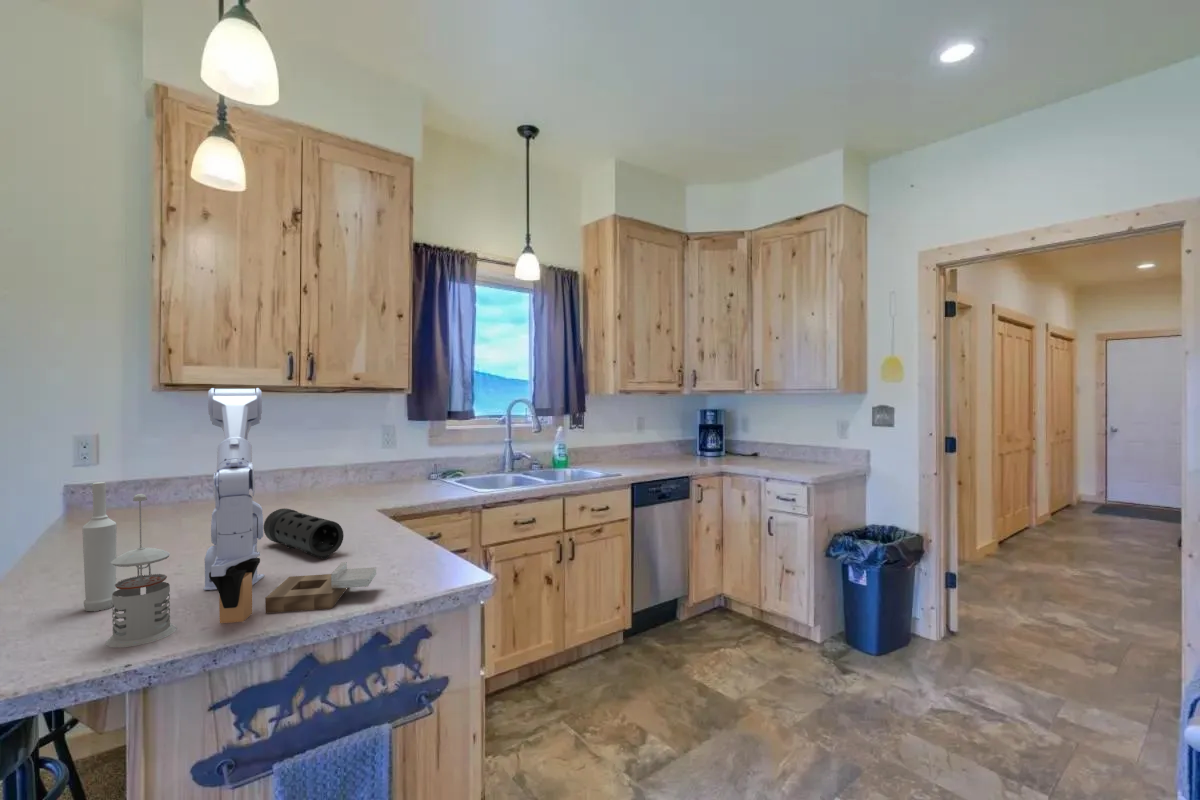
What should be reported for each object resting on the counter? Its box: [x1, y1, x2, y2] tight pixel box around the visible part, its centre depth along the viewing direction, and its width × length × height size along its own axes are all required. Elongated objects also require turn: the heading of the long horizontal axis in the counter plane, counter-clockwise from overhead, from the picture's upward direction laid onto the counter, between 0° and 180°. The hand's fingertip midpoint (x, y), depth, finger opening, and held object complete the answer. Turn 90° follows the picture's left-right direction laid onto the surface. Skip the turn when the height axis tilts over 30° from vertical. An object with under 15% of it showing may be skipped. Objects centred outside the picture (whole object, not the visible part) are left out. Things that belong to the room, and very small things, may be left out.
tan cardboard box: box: [218, 572, 253, 624], centre depth 106 cm, size 4×4×8 cm
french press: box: [105, 493, 178, 648], centre depth 100 cm, size 10×12×25 cm
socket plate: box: [264, 573, 347, 614], centre depth 116 cm, size 12×13×3 cm
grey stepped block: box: [330, 561, 377, 589], centre depth 118 cm, size 7×8×3 cm
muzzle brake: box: [263, 507, 345, 560], centre depth 153 cm, size 10×28×10 cm, turn 53°
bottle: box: [81, 481, 118, 612], centre depth 113 cm, size 5×5×25 cm
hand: (236, 602), depth 106 cm, fingers closed on tan cardboard box, 4 cm apart
